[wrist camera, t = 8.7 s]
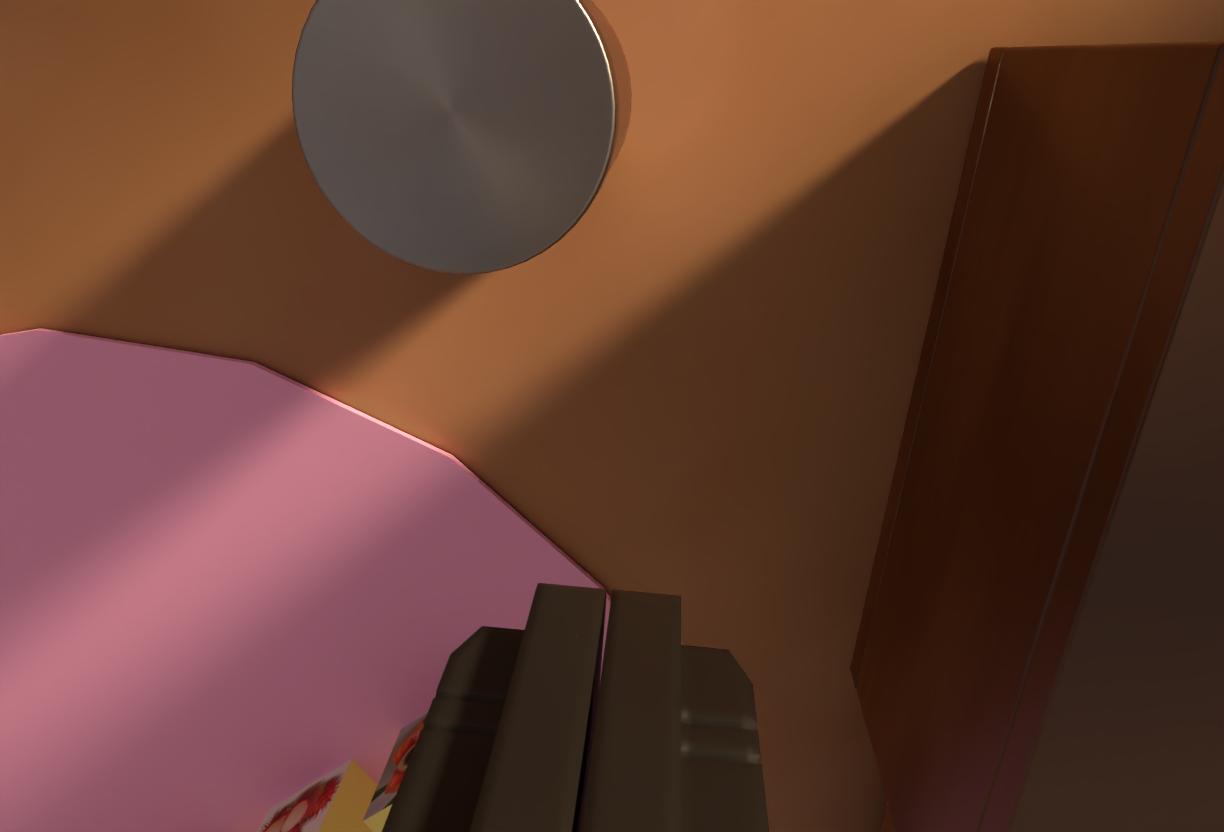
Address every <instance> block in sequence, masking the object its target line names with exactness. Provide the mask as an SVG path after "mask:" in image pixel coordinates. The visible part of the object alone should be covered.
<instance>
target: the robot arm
mask: <svg viewBox="0 0 1224 832" xmlns="http://www.w3.org/2000/svg"><path fill="white" fill-rule="evenodd" d="M606 592H607V591H606V589H599V588H589V587H579V586H568V585H558V584H547V583H538V585H537V587H536V590H535V594H534V598H533V601H532V605H531V609H530V612H529V616H528V620H527V623H526V627H525V630H520V629H509V628H499V627H489V626H481V627H480V628H479V629H478V630H477V631H476V632H475V633H474V634H472V635H471V636H470V637H469V638H468V639H467V640H466V641H465V642H464V643H462V644H461V645H460V646H459V647H458V648H457V649H456V650H455V651H454V652H452V653H451V654H450V656H449V659H448V662H447V664H446V667H445V669H444V672H443V675H442V677H441V680H440V682H439V685H438V687H437V690H436V697H435V698H433V700H432V703H431V706H430V708H429V711H428V713H427V716H426V719H425V721H424V728H423V730H421V731H420V734H419V737H418V739H417V742H416V744H415V747H414V750H413V752H412V755H411V757H410V760H409V763H408V765H407V768H406V770H405V773H404V775H403V778H402V781H401V783H400V786H399V788H398V791H397V794H396V796H395V799H394V801H393V804H392V806H391V809H390V812H389V814H388V817H387V819H386V822H385V825H384V827H383V830H382V832H769V826H768V817H767V808H766V799H765V791H764V782H763V773H762V764H760V756H761V755H760V746H759V738H758V731H757V730H756V726H757V720H756V711H755V702H754V693H753V684H752V683H751V681H750V680H749V678H748V677H747V676H746V674H745V673H744V671H743V670H742V669H741V667H740V666H739V664H738V663H737V661H736V660H735V659H734V657H733V656H732V654H731V653H730V651H729V650H727V649H716V648H706V647H696V646H686V645H681V597H680V596H675V595H665V594H654V593H644V592H633V591H623V590H612V595H611V603H610V611H609V618H608V626H607V634H606V641H605V649H604V657H603V665H602V672H601V663H602V650H603V637H604V623H605V610H606ZM600 676H601V680H600Z"/></svg>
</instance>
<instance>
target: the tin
mask: <svg viewBox="0 0 1224 832" xmlns="http://www.w3.org/2000/svg"><path fill="white" fill-rule="evenodd" d="M631 94H632V93H631V82H630V74H629V69H628V65H627V60H626V57H625V55H624V52H623V49H622V46H621V43H620V41H619V39H618V37H617V35H616V33H615V31H614V29H613V28H612V26H611V25H610V23H609V22H608V20H607V19H606V17H605V16H604V14H603V13H602V12H601V11H600V10H599V9H598V8H597V6H596V5H595V4H594V3H593V2H592V1H591V0H317V1H316V2H315V4H314V6H313V7H312V9H311V11H310V13H309V15H308V18H307V20H306V22H305V25H304V27H303V29H302V32H301V36H300V39H299V43H298V46H297V50H296V54H295V61H294V67H293V76H292V102H293V113H294V120H295V125H296V130H297V134H298V139H299V142H300V145H301V148H302V151H303V154H304V157H305V160H306V162H307V165H308V167H309V169H310V171H311V173H312V175H313V177H314V179H315V181H316V183H317V184H318V186H319V188H320V189H321V191H322V192H323V194H324V196H325V197H326V199H327V200H328V202H329V203H330V204H331V205H332V207H333V208H334V209H335V210H336V212H337V213H338V214H339V215H340V217H341V218H342V219H343V220H344V221H345V222H346V223H347V224H349V225H350V226H351V227H352V228H353V229H354V230H355V231H356V232H357V233H358V234H359V235H361V236H362V237H363V238H364V239H366V240H367V241H368V242H370V243H371V244H372V245H374V246H375V247H377V248H379V249H380V250H382V251H384V252H385V253H387V254H389V255H390V256H392V257H395V258H397V259H399V260H401V261H403V262H406V263H408V264H410V265H414V266H417V267H420V268H424V269H427V270H431V271H437V272H443V273H448V274H479V273H489V272H493V271H498V270H502V269H507V268H510V267H512V266H515V265H518V264H520V263H523V262H526V261H528V260H530V259H531V258H533V257H535V256H537V255H539V254H541V253H543V252H544V251H546V250H547V249H548V248H550V247H551V246H553V245H554V244H555V243H557V242H558V241H559V240H561V239H562V238H563V237H564V236H565V235H566V234H567V233H568V232H569V231H570V230H571V229H572V228H573V227H574V226H575V225H576V224H577V222H578V221H579V220H580V219H581V217H582V216H583V215H584V214H585V212H586V211H587V210H588V208H589V206H590V205H591V203H592V201H593V200H594V198H595V196H596V195H597V193H598V191H599V190H600V188H601V186H602V184H603V182H604V180H605V177H606V175H607V173H608V171H609V169H610V167H611V166H612V164H613V162H614V161H615V159H616V157H617V156H618V154H619V151H620V149H621V147H622V144H623V142H624V139H625V136H626V132H627V129H628V125H629V119H630V113H631Z"/></svg>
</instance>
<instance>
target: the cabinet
mask: <svg viewBox="0 0 1224 832" xmlns="http://www.w3.org/2000/svg"><path fill="white" fill-rule="evenodd" d="M850 670H851V674H852V677H853V681H854V685H855V688H856V690H857V694H858V697H859V701H860V705H861V708H862V712H863V716H864V719H865V723H866V726H867V730H868V734H869V737H870V741H871V745H872V748H873V752H874V755H875V759H876V763H877V766H878V770H879V774H880V777H881V781H882V784H883V788H884V792H885V795H886V799H887V803H888V806H889V810H890V813H891V817H892V821H893V824H894V828H895V832H1224V41H1220V42H1183V43H1146V44H1109V45H1072V46H1035V47H994V48H991V50H990V53H989V57H988V62H987V66H986V71H985V75H984V80H983V84H982V88H981V93H980V97H979V102H978V106H977V111H976V115H975V119H974V124H973V128H972V133H971V137H970V141H969V146H968V150H967V155H966V159H965V164H964V168H963V172H962V177H961V181H960V186H959V190H958V195H957V199H956V203H955V208H954V212H953V217H952V221H951V226H950V230H949V234H948V239H947V243H946V248H945V252H944V256H943V261H942V265H941V270H940V274H939V279H938V283H937V287H936V292H935V296H934V301H933V305H932V310H931V314H930V318H929V323H928V327H927V332H926V336H925V341H924V345H923V349H922V354H921V358H920V363H919V367H918V371H917V376H916V380H915V385H914V389H913V394H912V398H911V402H910V407H909V411H908V416H907V420H906V425H905V429H904V433H903V438H902V442H901V447H900V451H899V455H898V460H897V464H896V469H895V473H894V478H893V482H892V486H891V491H890V495H889V500H888V504H887V509H886V513H885V517H884V522H883V526H882V531H881V535H880V540H879V544H878V548H877V553H876V557H875V562H874V566H873V570H872V575H871V579H870V584H869V588H868V593H867V597H866V601H865V606H864V610H863V615H862V619H861V624H860V628H859V632H858V637H857V641H856V646H855V650H854V655H853V659H852V663H851V668H850Z"/></svg>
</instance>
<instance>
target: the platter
mask: <svg viewBox="0 0 1224 832" xmlns="http://www.w3.org/2000/svg"><path fill="white" fill-rule="evenodd" d="M538 583H547V584H558V585H568V586H579V587H589V588H599V589H605V588H604V587H603V586H602V585H601V584H599V583H598V582H597V581H596V580H595V579H594V578H593V577H591V576H590V575H589V574H588V573H587V572H586V571H585V570H583V569H582V568H581V567H580V566H579V565H578V564H577V563H575V562H574V561H573V560H572V559H571V558H570V557H569V556H567V555H566V554H565V553H564V552H563V551H562V550H561V549H559V548H558V547H557V546H556V545H555V544H554V543H553V542H551V541H550V540H549V539H548V538H547V537H546V536H544V535H543V534H542V533H541V532H540V531H539V530H538V529H536V528H535V527H534V526H533V525H532V524H531V523H530V522H528V521H527V520H526V519H525V518H524V517H523V516H522V515H520V514H519V513H518V512H517V511H516V510H515V509H514V508H512V507H511V506H510V505H509V504H508V503H507V502H506V501H504V500H503V499H502V498H501V497H500V496H499V495H498V494H496V493H495V492H494V491H493V490H492V489H491V488H490V487H488V486H487V485H486V484H485V483H484V482H483V481H482V480H480V479H479V478H478V477H477V476H476V475H475V474H474V473H472V472H471V471H470V470H469V469H468V468H467V467H466V466H464V465H463V464H462V463H461V462H460V461H459V460H458V459H456V458H455V457H454V456H453V455H452V454H450V453H447V452H445V451H443V450H441V449H439V448H437V447H435V446H432V445H430V444H428V443H426V442H424V441H422V440H420V439H418V438H415V437H413V436H411V435H409V434H407V433H405V432H403V431H400V430H398V429H396V428H394V427H392V426H390V425H388V424H386V423H383V422H381V421H379V420H377V419H375V418H373V417H371V416H368V415H366V414H364V413H362V412H360V411H358V410H356V409H354V408H351V407H349V406H347V405H345V404H343V403H341V402H339V401H336V400H334V399H332V398H330V397H328V396H326V395H324V394H322V393H319V392H317V391H315V390H313V389H311V388H309V387H307V386H304V385H302V384H300V383H298V382H296V381H294V380H292V379H290V378H287V377H285V376H283V375H281V374H279V373H277V372H275V371H272V370H270V369H268V368H266V367H264V366H262V365H260V364H258V363H255V362H252V361H246V360H240V359H233V358H227V357H221V356H214V355H208V354H202V353H195V352H189V351H183V350H176V349H170V348H164V347H157V346H151V345H145V344H138V343H132V342H126V341H119V340H113V339H107V338H100V337H94V336H88V335H81V334H75V333H69V332H63V331H56V330H50V329H44V328H39V329H33V330H26V331H20V332H14V333H8V334H2V335H0V832H382V830H383V827H384V825H385V822H386V819H387V817H388V814H389V812H390V809H391V806H392V804H393V801H394V799H395V796H396V794H397V791H398V788H399V786H400V783H401V781H402V778H403V775H404V773H405V770H406V768H407V765H408V763H409V760H410V757H411V755H412V752H413V750H414V747H415V744H416V742H417V739H418V737H419V734H420V731H421V730H423V728H424V721H425V719H426V716H427V713H428V711H429V708H430V706H431V703H432V700H433V698H435V697H436V690H437V687H438V685H439V682H440V680H441V677H442V675H443V672H444V669H445V667H446V664H447V662H448V659H449V656H450V654H451V653H452V652H454V651H455V650H456V649H457V648H458V647H459V646H460V645H461V644H462V643H464V642H465V641H466V640H467V639H468V638H469V637H470V636H471V635H472V634H474V633H475V632H476V631H477V630H478V629H479V628H480V627H481V626H489V627H499V628H509V629H520V630H525V627H526V623H527V620H528V616H529V612H530V609H531V605H532V601H533V598H534V594H535V590H536V587H537V585H538ZM610 603H611V598H610V596H609V595H608V593H607V592H606V610H605V623H604V637H603V650H602V663H601V672H602V665H603V657H604V649H605V641H606V634H607V626H608V618H609V611H610ZM600 680H601V676H600Z"/></svg>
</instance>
